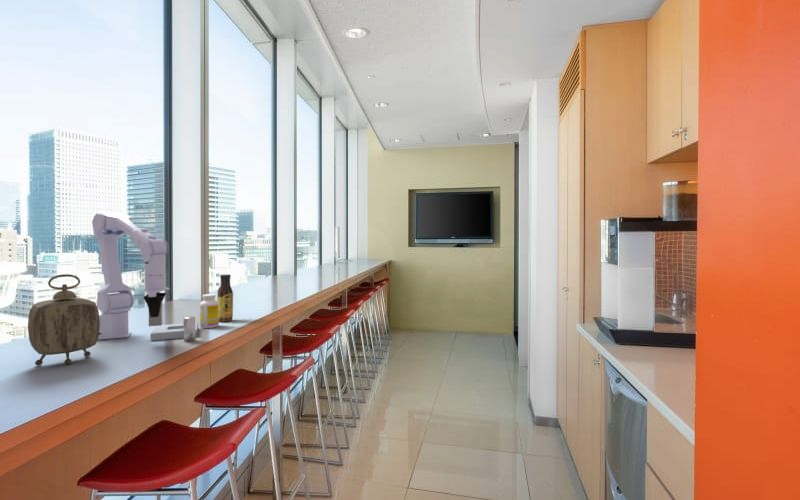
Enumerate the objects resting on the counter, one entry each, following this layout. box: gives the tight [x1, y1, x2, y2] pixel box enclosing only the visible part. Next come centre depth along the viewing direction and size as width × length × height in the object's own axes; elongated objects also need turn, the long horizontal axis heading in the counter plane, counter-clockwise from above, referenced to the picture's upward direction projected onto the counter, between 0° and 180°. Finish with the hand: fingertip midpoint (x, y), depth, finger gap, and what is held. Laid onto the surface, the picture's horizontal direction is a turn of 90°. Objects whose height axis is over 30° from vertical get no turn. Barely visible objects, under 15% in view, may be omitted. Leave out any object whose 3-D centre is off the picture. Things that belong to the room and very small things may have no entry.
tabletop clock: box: [27, 273, 100, 366], centre depth 112 cm, size 14×9×25 cm, turn 141°
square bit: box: [148, 299, 164, 327], centre depth 133 cm, size 4×4×8 cm
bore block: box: [150, 321, 199, 342], centre depth 146 cm, size 14×14×2 cm
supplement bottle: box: [199, 293, 219, 329], centre depth 159 cm, size 7×7×13 cm
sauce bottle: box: [216, 273, 234, 323], centre depth 170 cm, size 6×6×20 cm
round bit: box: [183, 316, 196, 343], centre depth 137 cm, size 4×4×8 cm
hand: (155, 315), depth 133 cm, fingers closed on square bit, 4 cm apart
